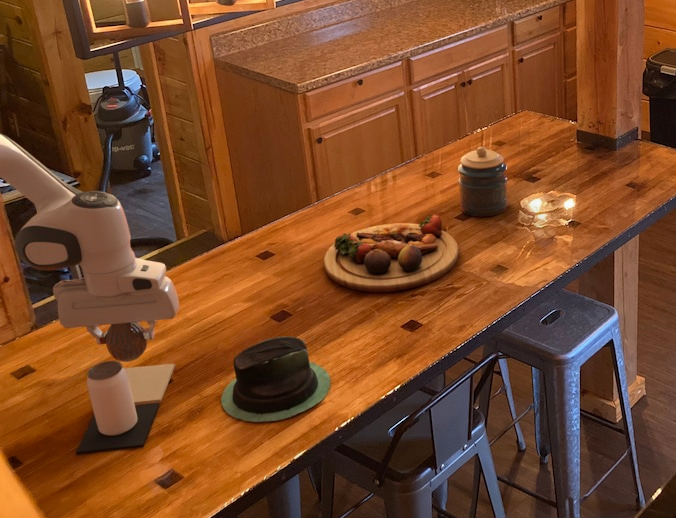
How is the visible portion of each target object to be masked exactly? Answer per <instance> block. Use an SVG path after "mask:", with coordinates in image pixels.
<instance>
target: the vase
mask: <svg viewBox="0 0 676 518" xmlns="http://www.w3.org/2000/svg"><path fill="white" fill-rule="evenodd" d="M144 330H145V328H144V326H143V325H142V324H141V322H131V323H120V324H110V325H109V327H108V329H107V331H106V332H107V334H106V344H105V347H106V349H107V351H108V353H109V355H110V356H111V357H112V358H113V359H115V360H116V361H118V362H123V363H128V362H129V363H130V362H133V361H136V360H138V359H139V358H140V357H141V356H142V355H143V354H144V353H145V352H146V349H147V345H148V340H144V336H143V332H144Z"/></svg>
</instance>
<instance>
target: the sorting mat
mask: <svg viewBox="0 0 676 518" xmlns="http://www.w3.org/2000/svg"><path fill="white" fill-rule="evenodd" d="M175 367H176V364H175V363H167V364H166V363H165V364H155V365H145V366H135V367H123V368H124V369H125V370H126V372H127V375H128V379H129V383H130V388H131V392H132V396H133V400H134V405H135V409H136V413H137V423H136V424H135V426H134V427H133V428H132V429H131V430H129V431H127V432H125V433H123V434H120V435H115V436H107V435H104V434H102V433H101V432H100V431H99V429H98V426H97V422H96V418H95V415H94V414H93V416H92V418H91V420H90V422H89V424H88V427H87V428H86V430H85V432H84V434H83V436H82V437H81V438H82V439H81V440H80V442H79V445H78V447H77V449H76V451H75V453H76V455H84V454H95V453H103V452H112V451H123V450H130V449H132V450H133V449H141V448H144V447H145V445H146V442H147V439H148V437H149V434H150V432H151V429H152V426H153V424H154V421H155V419H156V416H157V413H158V411H159V408H160V406H161V404H162V401H163V398H164V396H165V393H166V390H167V388H168V385H169V383H170V380H171V377H172V376H173V373H174V370H175Z"/></svg>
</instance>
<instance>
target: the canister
mask: <svg viewBox="0 0 676 518" xmlns="http://www.w3.org/2000/svg"><path fill="white" fill-rule="evenodd" d="M507 168H508V166H507V163H505V162H504V156H503V155H502V154H501V153H498V152H496V151H494V150H491V149H486V147H484V146H479V147H478V148H477V149H475V150H471V151H468V152H467V153H466V154H464V155H463V156H462V157H461V158H460V164H459V165H458V167H457V172H458V173H459V178H458V185H459V206H460V209H462V210H461V211H462V212H463V213H464V212H465V213H464V214H466V215H468V214H469V215H468V216H470V215H471V217H475V216H479V217H478V218H485V217H484V216H487V217H488V216H489V217H493V216H498V215H500V214H502V213H504V212H505V211H506V210H507V209H506V208H508V203H509V197H508V186H507V185H508V176H507V175H506V171H507ZM503 211H504V212H503ZM487 217H486V218H487Z"/></svg>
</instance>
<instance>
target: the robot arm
mask: <svg viewBox="0 0 676 518" xmlns="http://www.w3.org/2000/svg"><path fill="white" fill-rule="evenodd" d="M0 179H2V180H3V181H5V182H6V183H7V184H9V185H10V187H12V188H14V189H15V190H16V191H18V192H19V193H20V194H21V195H22V196H24V197H25V198H26V199H28V200H29V201H30V202H31V203H32V204H33V205H34V206H35V207H36V209H37V213H36V214H35V215H33V216H32V217H31V218H30V219H29V220H28V221H27V222H26V223H25V224H24V225H23V226H22V227H21V229H19V231H18V232H17V234H15V238H14V248H15V249H14V250H15V252H16V254H17V256H18V257H19V259H21V260H22V262H23V263H24V264H26V265H27V266H29V267H30V268H33V269H35V270H38V271H45V272H47V271H57V270H63V269H68V268H71V267H75V266H78V265H79V266H80V267H81V271H82V275H83V278H75V279H62V280H60V281H59V282H57V283H55V285H54V286H53V288H52V293H53V297H54V299H55V300H56V301H57V312H58V313H57V315H58V320H59V324H60V325H61V326H62V327H64V328H65V329H75V328H86V331H87V332H88V333H89V334H90V335H91V336H93V338H95V340H96V344H97V345H100V346H101V345H106V334H107V331H102V330H101V329H100V327H98V326H108V325H109V326H110V325H111V324H120V323H131V322H139V323H141V322H146V323H147V326H149V327H145V328H144V332H143V336H144V340H147V341H152V340H154V339H155V337H156V336H155V334H156V333H155V326H156V324H157V322H158V321H163V320H164V321H165V320H172V319H174V318H175V317H176V316H177V314H178V312H179V310H180V300H179V295H178V293H177V289H176V287H175V285H174V282H173V281H172V280H171V279H170V278H169V277H168V276H166V275H167V274H166V273H167V266H166V265H165V263H163V262H158V261H152V260H148V259H142V258H139V257H136V254H135V252H134V250H133V249H132V247H131V237H132V236H131V231H130V227H129V224H128V219H127V217H126V213H125V211H124V208H123V206H122V204H121V202H120V201H119V199H118V198H117V197H115V195H113V194H111V193H109V192H106V191H101V190H89V191H82V190H80V189H78V188H77V187H74V186H72V185H70V184H69V183H67V182H65V181H64V180H62V179H61V178H60V177H59V176H57V175H56V174H55V173H54V172H53V171H51V170H50V169H49V168H48V167H46V165H44V164H43V163H41V162H40V160H38V159H37V158H35V157H34V156H33V155H32V154H31V153H29V152H28V151H27V150H26V149H24V148H23V147H22V146H21V145H19V144H18V143H17V142H16V141H14V140H12V139H11V138H10V137H8V136H7V135H5V134H3V133H0Z"/></svg>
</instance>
